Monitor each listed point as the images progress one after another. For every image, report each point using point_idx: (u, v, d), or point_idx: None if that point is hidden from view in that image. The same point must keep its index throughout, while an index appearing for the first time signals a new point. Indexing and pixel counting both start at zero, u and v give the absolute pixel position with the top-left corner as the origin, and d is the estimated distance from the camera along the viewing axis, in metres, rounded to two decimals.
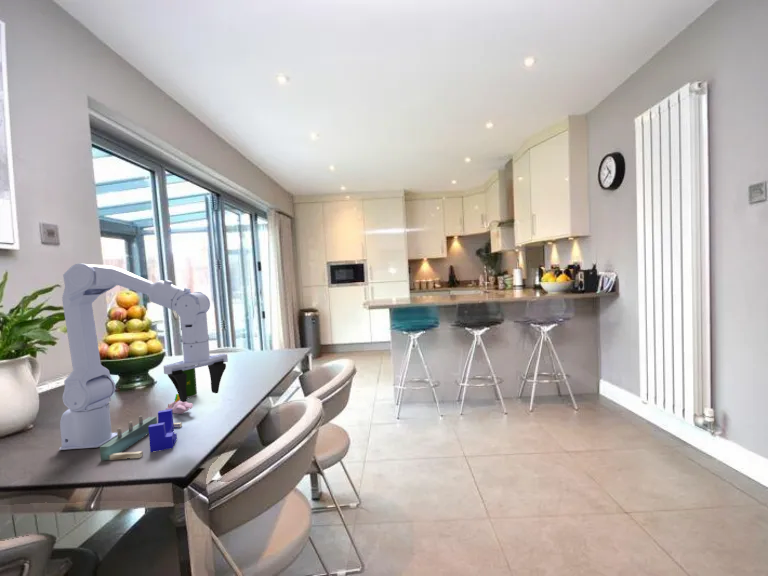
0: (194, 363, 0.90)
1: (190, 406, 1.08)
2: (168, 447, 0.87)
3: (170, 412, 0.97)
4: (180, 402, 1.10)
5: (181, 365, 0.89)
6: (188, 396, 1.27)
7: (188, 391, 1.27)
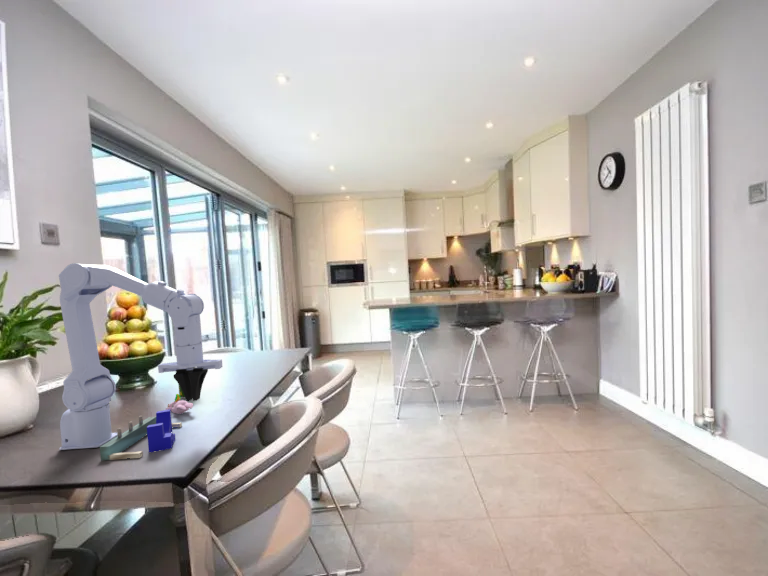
0: (177, 366, 0.89)
1: (190, 406, 1.08)
2: (167, 447, 0.87)
3: (168, 412, 0.96)
4: (180, 402, 1.11)
5: (168, 366, 0.90)
6: None
7: None
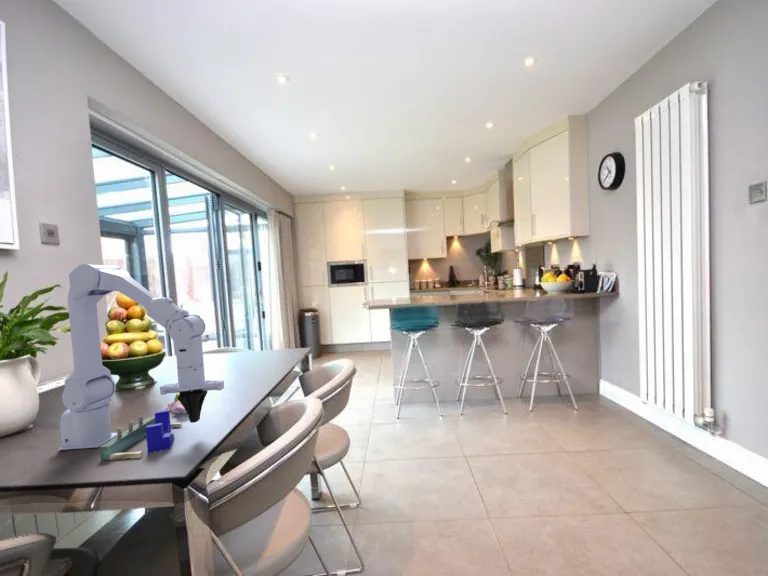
0: (179, 388, 0.90)
1: None
2: (166, 448, 0.87)
3: (167, 413, 0.96)
4: None
5: (170, 388, 0.90)
6: None
7: None
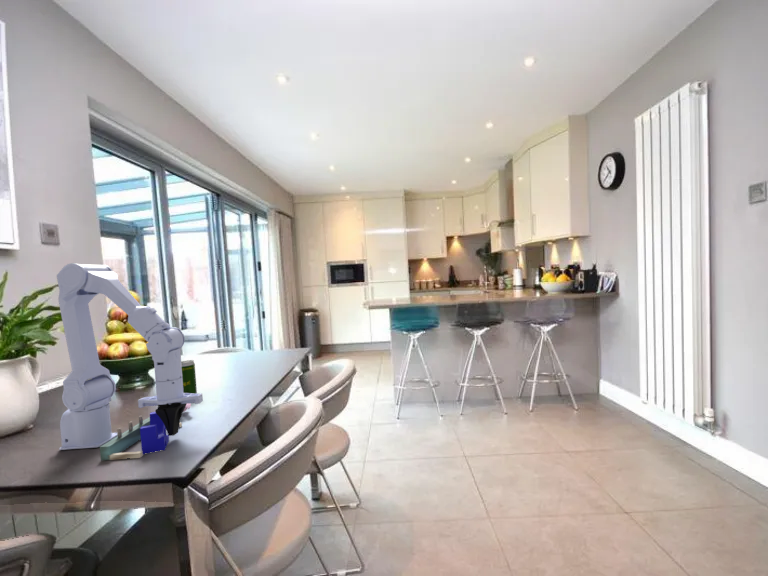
0: (156, 401, 0.90)
1: (188, 406, 1.08)
2: (160, 449, 0.86)
3: None
4: None
5: (148, 401, 0.90)
6: None
7: (188, 391, 1.27)
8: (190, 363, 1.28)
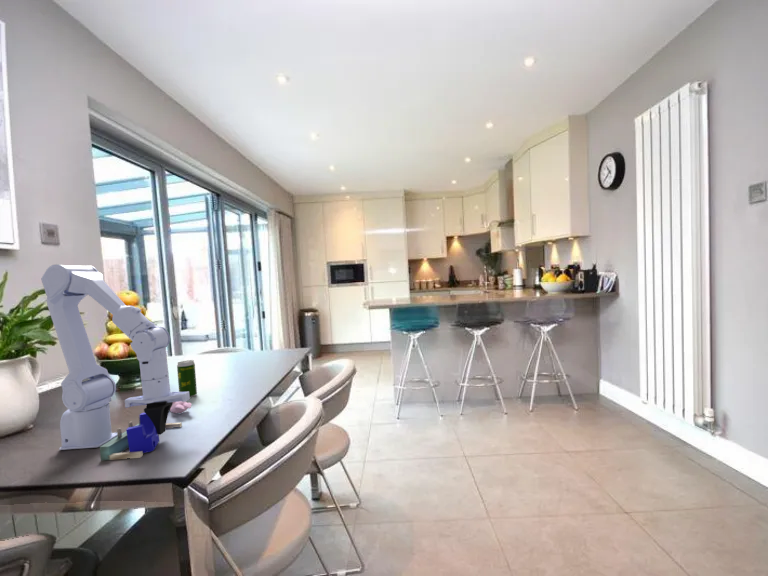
0: (143, 401, 0.89)
1: (189, 406, 1.09)
2: (148, 449, 0.86)
3: None
4: (179, 402, 1.11)
5: (135, 401, 0.90)
6: None
7: None
8: (190, 363, 1.28)
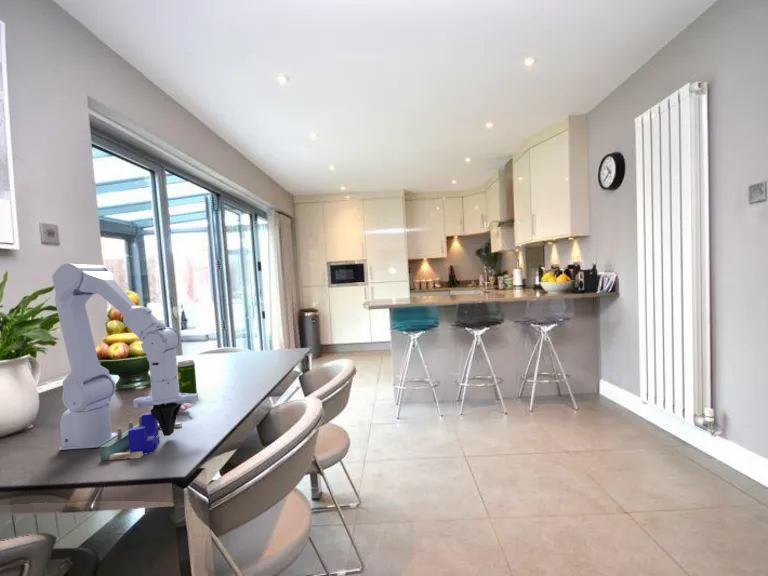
0: (152, 402, 0.90)
1: (189, 405, 1.09)
2: (148, 451, 0.86)
3: None
4: None
5: (143, 401, 0.90)
6: None
7: (188, 391, 1.27)
8: (190, 363, 1.28)
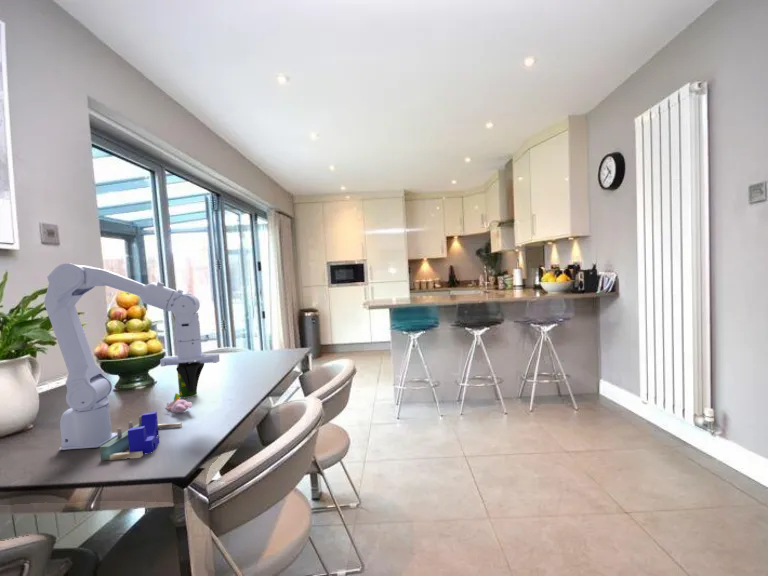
0: (178, 360, 0.97)
1: (190, 405, 1.09)
2: (148, 451, 0.86)
3: (154, 415, 0.95)
4: (179, 401, 1.11)
5: (170, 360, 0.98)
6: (188, 396, 1.27)
7: None
8: None
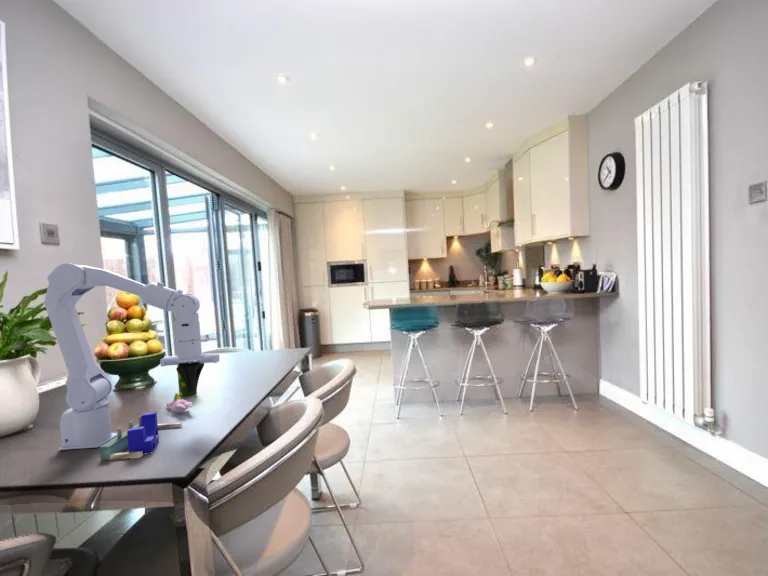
0: (178, 360, 0.97)
1: (190, 405, 1.09)
2: (147, 452, 0.85)
3: (154, 415, 0.95)
4: (180, 401, 1.12)
5: (170, 360, 0.98)
6: (188, 396, 1.27)
7: None
8: None
